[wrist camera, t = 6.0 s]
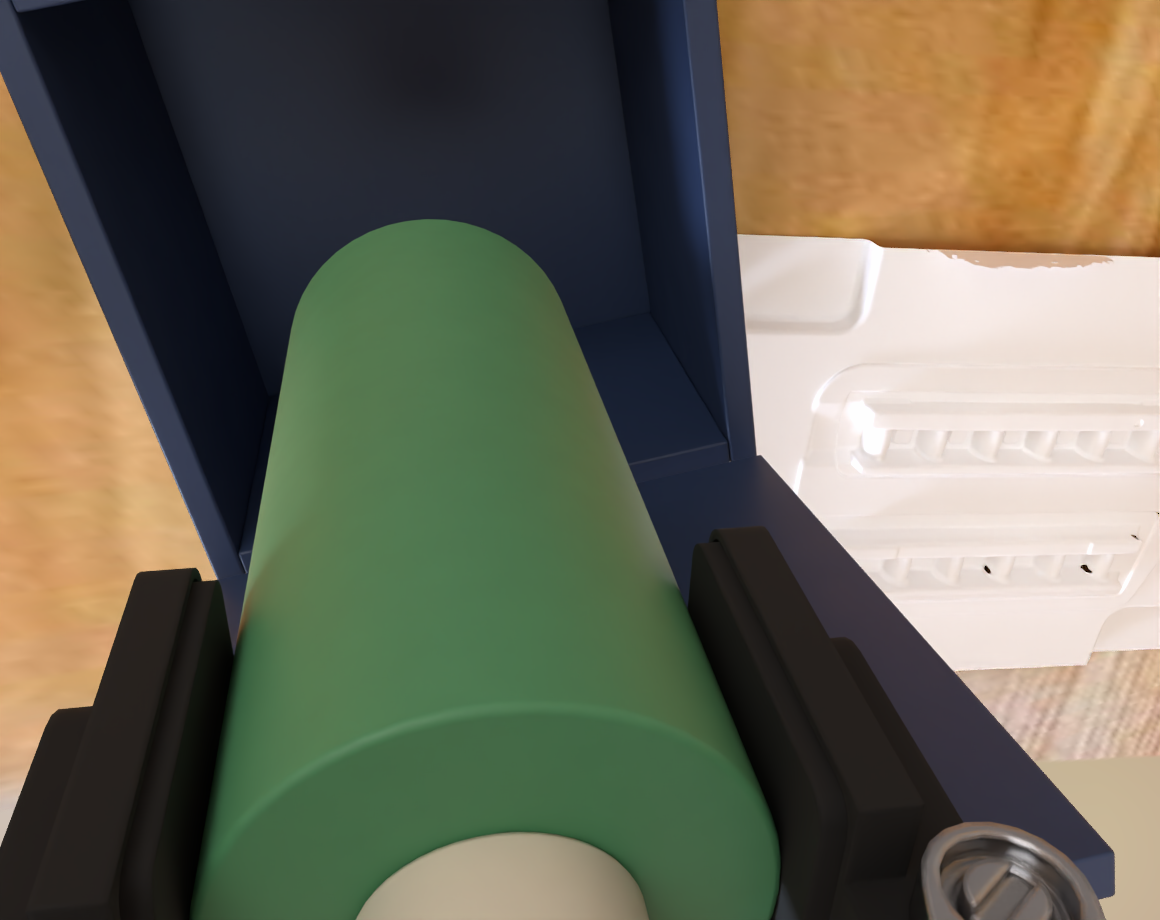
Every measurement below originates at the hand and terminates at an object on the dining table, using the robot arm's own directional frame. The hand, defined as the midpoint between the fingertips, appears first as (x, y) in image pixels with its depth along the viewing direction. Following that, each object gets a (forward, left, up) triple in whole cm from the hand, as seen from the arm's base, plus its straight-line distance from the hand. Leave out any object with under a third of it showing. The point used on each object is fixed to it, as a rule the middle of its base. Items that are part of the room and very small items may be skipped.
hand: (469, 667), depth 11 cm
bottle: (0, 0, -8) cm, 8 cm away
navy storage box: (+1, 0, -27) cm, 27 cm away
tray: (+19, +21, -27) cm, 39 cm away
